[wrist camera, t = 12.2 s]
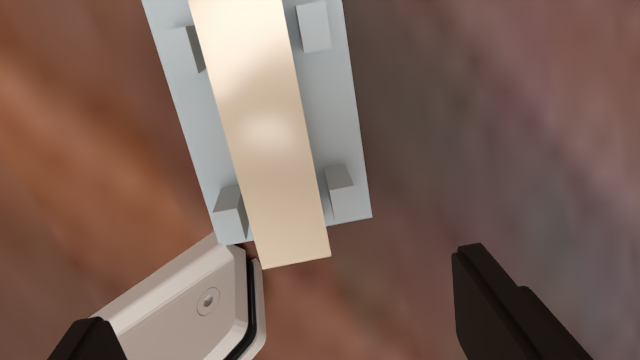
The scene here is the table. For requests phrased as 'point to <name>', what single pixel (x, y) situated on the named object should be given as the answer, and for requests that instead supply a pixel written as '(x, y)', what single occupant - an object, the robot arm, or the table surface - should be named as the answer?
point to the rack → (317, 101)
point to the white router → (194, 307)
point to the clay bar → (264, 125)
